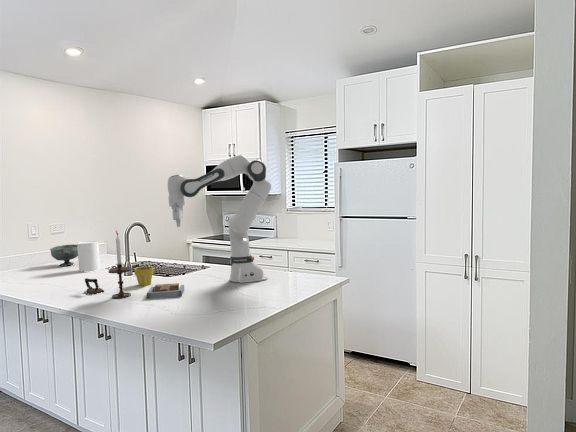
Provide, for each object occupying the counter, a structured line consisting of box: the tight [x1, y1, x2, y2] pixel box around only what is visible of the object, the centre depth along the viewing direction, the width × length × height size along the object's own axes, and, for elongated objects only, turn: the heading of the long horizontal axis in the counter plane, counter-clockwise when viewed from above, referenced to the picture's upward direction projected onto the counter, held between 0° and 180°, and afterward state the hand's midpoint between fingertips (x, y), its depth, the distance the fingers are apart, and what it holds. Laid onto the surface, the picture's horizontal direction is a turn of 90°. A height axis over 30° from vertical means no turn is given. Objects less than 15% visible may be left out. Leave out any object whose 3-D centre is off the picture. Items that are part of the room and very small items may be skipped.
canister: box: [76, 240, 101, 272], centre depth 292 cm, size 14×14×20 cm
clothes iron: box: [84, 278, 105, 295], centre depth 226 cm, size 7×11×10 cm, turn 58°
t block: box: [154, 282, 180, 292], centre depth 217 cm, size 12×12×4 cm
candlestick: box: [108, 230, 132, 300], centre depth 214 cm, size 11×11×35 cm
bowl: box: [49, 244, 78, 267], centre depth 316 cm, size 20×19×15 cm
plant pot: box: [134, 266, 154, 287], centre depth 241 cm, size 10×10×10 cm
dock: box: [146, 284, 185, 300], centre depth 216 cm, size 17×14×3 cm
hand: (178, 226), depth 241 cm, fingers closed
